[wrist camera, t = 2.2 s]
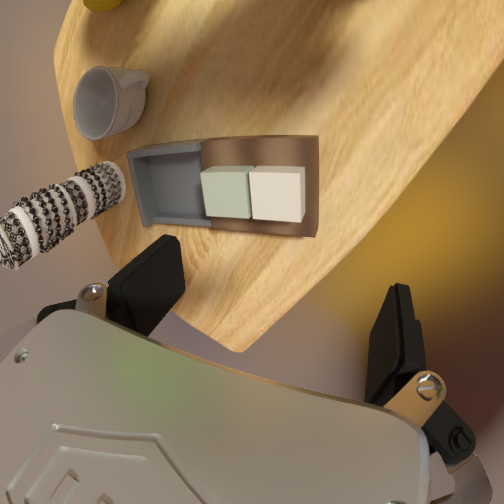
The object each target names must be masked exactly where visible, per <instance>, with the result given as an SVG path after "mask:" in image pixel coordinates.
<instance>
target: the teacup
mask: <svg viewBox="0 0 504 504" xmlns="http://www.w3.org/2000/svg"><path fill="white" fill-rule="evenodd" d="M149 80H150V76H149V73H148V72H147V71H146V70H137V71H132V70H130V69H126V68H119V67H102V66H97V67H94V68H91V69H90V70H88V71H87V72H86V73H85V74H84V75H83V76H82V78H81V79H80V81H79V83H78V85H77V88H76V91H75V94H74V101H73V112H74V120H75V123H76V126H77V128H78V130H79V132H80V133H81V134H82V136H84V137H85V138H86V139H88V140H92V141H96V140H100V139H102V138H104V137H108V136H112V135H116V134H119V133H122V132H124V131H126V130H128V129H130V128H131V127H132V126H133V125H134V124H135V123H136V122H137V121H138V120H139V118H140V116H141V114H142V112H143V110H144V106H145V99H146V94H145V88H146V87H147V84H148V83H149Z"/></svg>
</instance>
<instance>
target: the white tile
mask: <svg viewBox="0 0 504 504" xmlns="http://www.w3.org/2000/svg"><path fill="white" fill-rule="evenodd" d="M249 179H250V191H251V202H252V214H253V219H261V220H274V221H287V222H299V223H301V221H302V219H303V216H304V214H305V167H294V166H257V167H255V168H254V169H253V170H251V171H250V172H249Z"/></svg>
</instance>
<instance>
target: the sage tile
mask: <svg viewBox="0 0 504 504" xmlns="http://www.w3.org/2000/svg"><path fill="white" fill-rule="evenodd" d="M253 169H254V166H212V167H210V168H208V169H206V170H204V171H202V172H201V173H200V176H201V183H202V189H203V196H204V202H205V209H206V215H207V216H215V217H231V218H247V219H249V218H250V217H251V215H252V202H251V191H250V179H249V172H250V171H251V170H253Z"/></svg>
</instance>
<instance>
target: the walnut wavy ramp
mask: <svg viewBox="0 0 504 504" xmlns="http://www.w3.org/2000/svg"><path fill="white" fill-rule="evenodd" d="M200 146H201V154H202V161H203V169H204V170H206V169H208V168H210V167H212V166H254V168H255V167H257V166H294V167H305V214H304V216H303V219H302V221H301V223H299V222H287V221H274V220H261V219H253V214H252V215H251V217H250V218H249V219H247V218H231V217H215V216H210V217H211V223H212V228H213V229H225V230H238V231H249V232H261V233H272V234H283V235H294V236H304V237H314V238H315V236H316V233H317V230H318V219H319V138H318V136H311V135H261V136H237V137H221V138H210V139H207V140H204V141H201V142H200Z"/></svg>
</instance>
